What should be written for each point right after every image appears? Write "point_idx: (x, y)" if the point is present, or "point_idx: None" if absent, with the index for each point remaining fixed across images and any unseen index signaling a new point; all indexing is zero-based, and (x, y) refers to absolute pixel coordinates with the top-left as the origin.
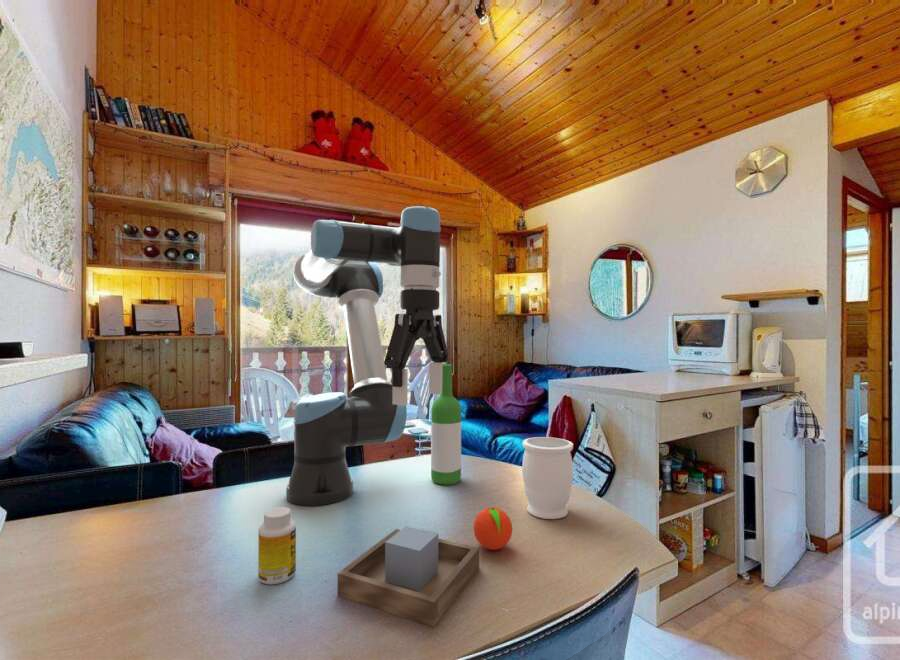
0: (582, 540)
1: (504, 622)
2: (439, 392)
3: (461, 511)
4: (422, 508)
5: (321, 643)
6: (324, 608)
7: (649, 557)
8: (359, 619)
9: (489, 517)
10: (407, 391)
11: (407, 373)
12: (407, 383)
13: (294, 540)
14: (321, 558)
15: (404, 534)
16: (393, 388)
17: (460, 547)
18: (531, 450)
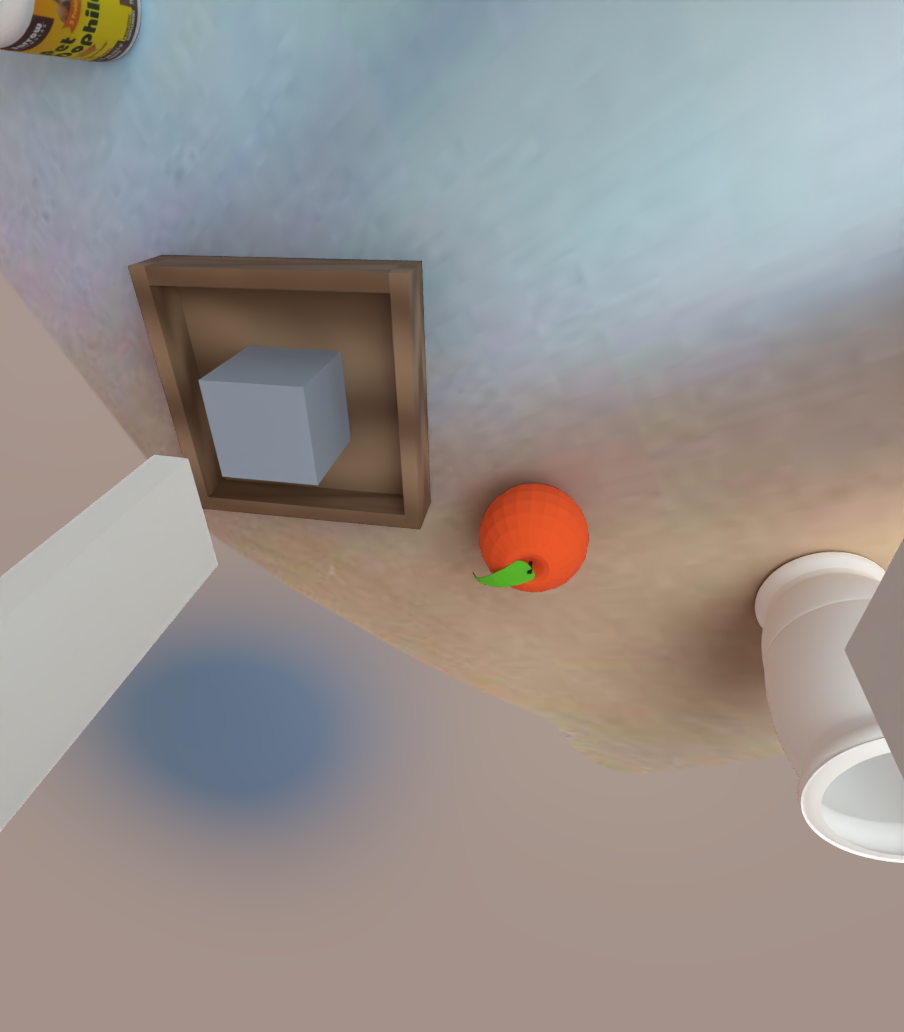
0: (648, 669)
1: (301, 574)
2: (856, 656)
3: (768, 352)
4: (767, 178)
5: (64, 326)
6: (118, 257)
7: (612, 755)
8: (148, 352)
9: (496, 561)
10: (151, 645)
11: (16, 806)
12: (102, 705)
13: (48, 44)
14: (242, 53)
15: (261, 407)
16: (53, 548)
17: (403, 489)
18: (825, 745)
